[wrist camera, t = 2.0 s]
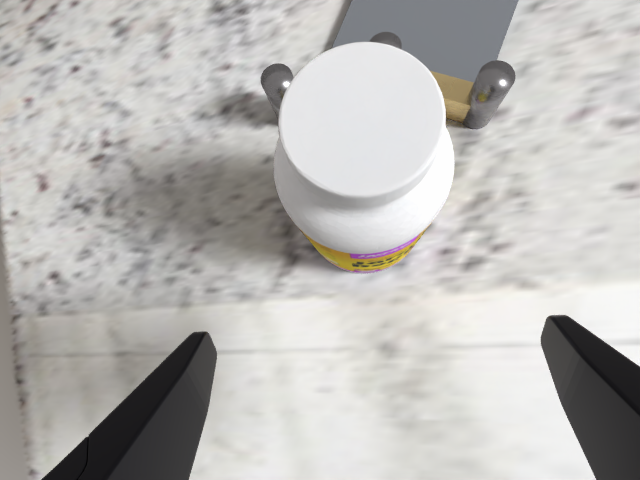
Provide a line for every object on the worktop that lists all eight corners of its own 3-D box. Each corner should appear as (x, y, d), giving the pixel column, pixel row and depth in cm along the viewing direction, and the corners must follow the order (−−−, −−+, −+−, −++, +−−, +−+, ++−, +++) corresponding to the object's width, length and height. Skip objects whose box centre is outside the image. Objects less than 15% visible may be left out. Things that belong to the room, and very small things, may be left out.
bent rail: (494, 106, 23) (520, 65, 19) (466, 184, 22) (486, 159, 19) (303, 52, 25) (291, 7, 22) (273, 122, 25) (255, 88, 21)
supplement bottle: (349, 296, 22) (322, 284, 10) (290, 208, 24) (199, 97, 11) (443, 233, 22) (539, 138, 10) (378, 147, 24) (387, -32, 11)
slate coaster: (530, -36, 24) (534, -44, 24) (480, 101, 23) (483, 95, 23) (383, -67, 26) (383, -75, 26) (330, 58, 25) (329, 52, 24)
